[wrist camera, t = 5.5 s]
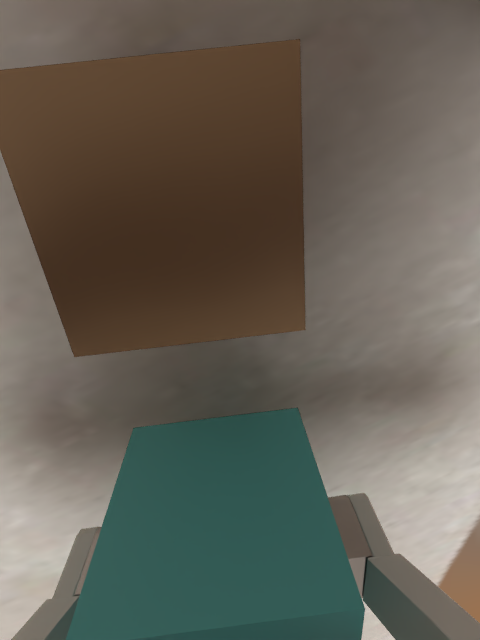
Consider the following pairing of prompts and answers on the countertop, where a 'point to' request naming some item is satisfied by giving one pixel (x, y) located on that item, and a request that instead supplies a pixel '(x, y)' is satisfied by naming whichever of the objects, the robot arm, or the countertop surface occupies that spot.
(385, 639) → the countertop surface
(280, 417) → the teal block
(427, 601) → the robot arm
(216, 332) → the walnut block
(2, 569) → the countertop surface
